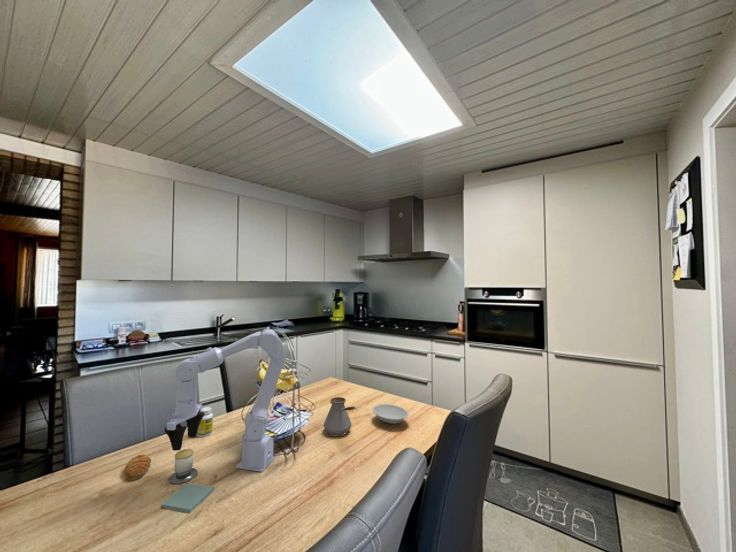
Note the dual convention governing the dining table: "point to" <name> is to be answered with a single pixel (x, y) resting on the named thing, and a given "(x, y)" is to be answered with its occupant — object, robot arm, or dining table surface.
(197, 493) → the coaster
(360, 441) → the dining table surface
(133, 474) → the pastry
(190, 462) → the can
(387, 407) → the dish
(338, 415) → the coffee pot
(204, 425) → the supplement bottle
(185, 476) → the grey round lid
